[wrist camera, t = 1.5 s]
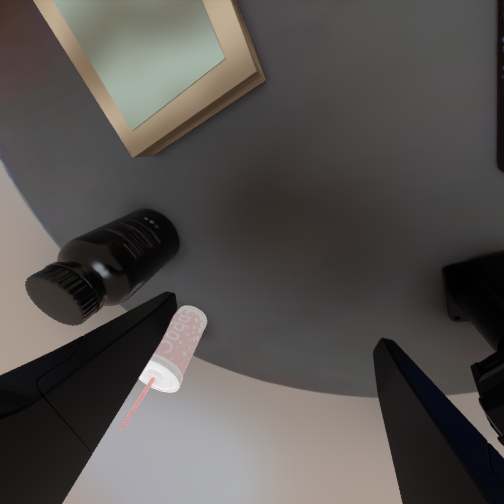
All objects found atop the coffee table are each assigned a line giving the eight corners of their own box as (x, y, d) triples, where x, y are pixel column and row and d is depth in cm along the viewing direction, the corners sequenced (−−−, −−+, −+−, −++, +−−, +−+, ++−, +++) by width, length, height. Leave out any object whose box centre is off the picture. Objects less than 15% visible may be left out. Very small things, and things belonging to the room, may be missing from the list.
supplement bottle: (169, 269, 28) (87, 348, 18) (123, 237, 27) (11, 301, 17) (189, 232, 24) (102, 305, 14) (138, 195, 24) (6, 244, 13)
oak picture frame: (265, 80, 16) (256, 70, 13) (154, 154, 21) (131, 158, 18) (176, -166, 12) (136, -252, 9) (63, 0, 17) (15, -25, 14)
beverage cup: (217, 313, 30) (154, 433, 18) (206, 337, 33) (147, 452, 21) (177, 294, 30) (89, 402, 18) (170, 320, 33) (92, 425, 21)
